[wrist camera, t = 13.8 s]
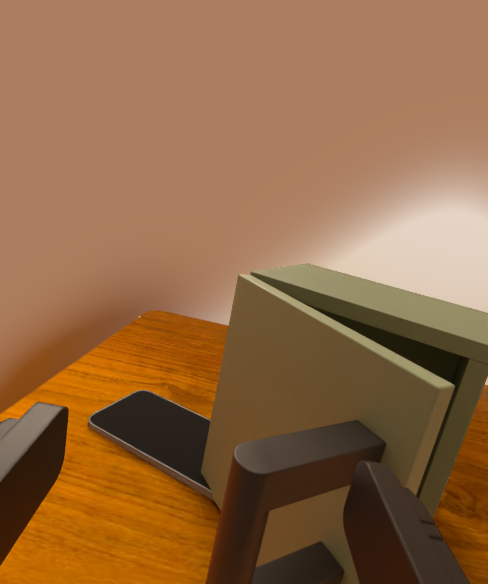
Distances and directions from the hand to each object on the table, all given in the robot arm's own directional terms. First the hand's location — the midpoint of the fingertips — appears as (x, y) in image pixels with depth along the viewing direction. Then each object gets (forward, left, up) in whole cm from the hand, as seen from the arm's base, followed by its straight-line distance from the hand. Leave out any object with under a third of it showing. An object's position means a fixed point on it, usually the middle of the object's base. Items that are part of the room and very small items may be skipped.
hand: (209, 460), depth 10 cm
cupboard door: (+7, +3, -14) cm, 16 cm away
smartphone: (+15, +12, -14) cm, 24 cm away
